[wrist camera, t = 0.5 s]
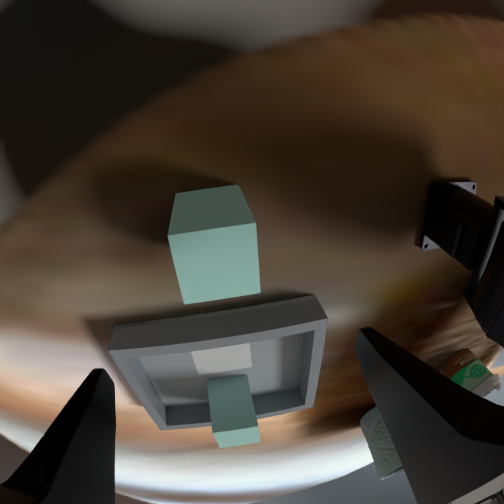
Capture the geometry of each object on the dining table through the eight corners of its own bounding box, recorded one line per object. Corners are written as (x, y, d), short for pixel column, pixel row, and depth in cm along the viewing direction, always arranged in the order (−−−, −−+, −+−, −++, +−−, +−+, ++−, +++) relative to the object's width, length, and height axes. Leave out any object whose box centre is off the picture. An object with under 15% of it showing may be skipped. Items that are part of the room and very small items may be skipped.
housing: (314, 294, 24) (345, 351, 18) (305, 386, 31) (322, 432, 26) (114, 324, 22) (100, 386, 17) (160, 408, 29) (161, 457, 24)
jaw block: (238, 184, 18) (256, 222, 13) (243, 239, 20) (260, 292, 15) (175, 193, 18) (167, 235, 13) (186, 248, 20) (184, 304, 15)
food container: (482, 332, 37) (513, 370, 29) (473, 353, 40) (500, 389, 32) (432, 364, 37) (462, 410, 28) (424, 383, 40) (450, 426, 32)
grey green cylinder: (389, 393, 38) (421, 453, 28) (415, 396, 42) (443, 445, 32) (344, 427, 41) (367, 484, 31) (375, 427, 45) (397, 475, 35)
